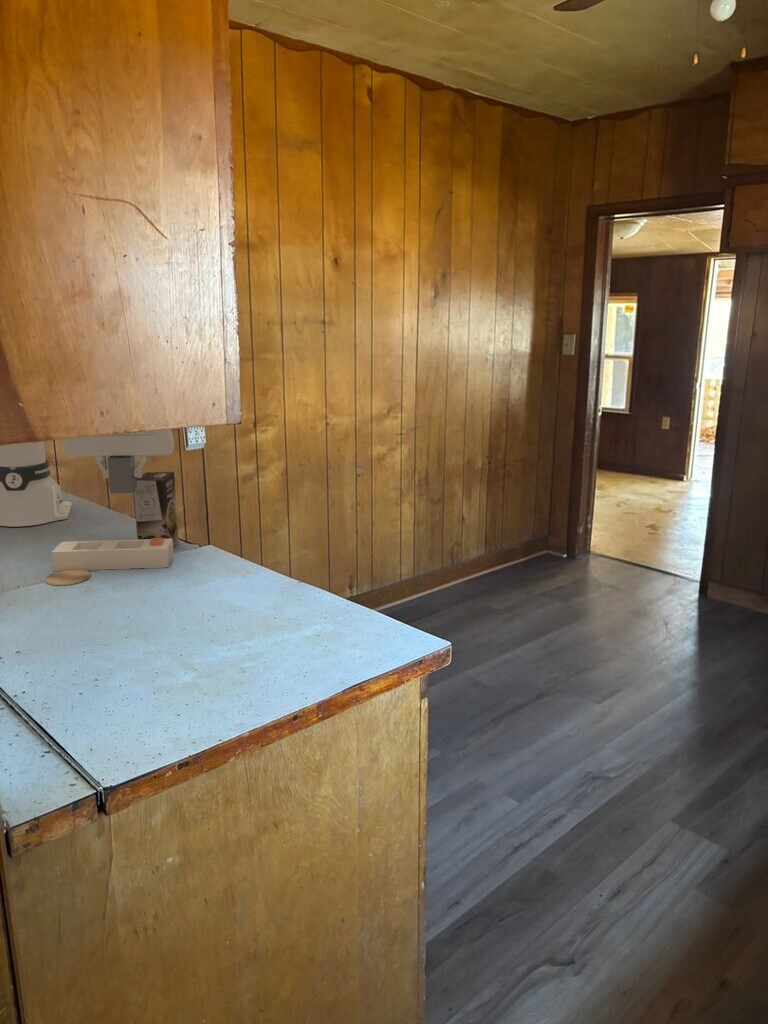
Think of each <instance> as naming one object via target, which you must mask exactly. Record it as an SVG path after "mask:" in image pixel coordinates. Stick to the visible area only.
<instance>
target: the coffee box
mask: <svg viewBox="0 0 768 1024" xmlns="http://www.w3.org/2000/svg"><path fill="white" fill-rule="evenodd" d="M175 482H176V481H175V472H174V471H154V472H150V471H149V472H146V471H145V472H144V473H142V477H141V478H136V483H137V489H136V490H135V491H134V492H133V499H134V512H135V523H136V524H135V525H136V537H137V539H136V540H139V539H152V538H164V539H173V549H174V548H175V547H176V546H177V545H178V544H179V542H180V539H179V525H178V523H179V522H178V510H177V497H176V495H177V494H176V483H175Z"/></svg>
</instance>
